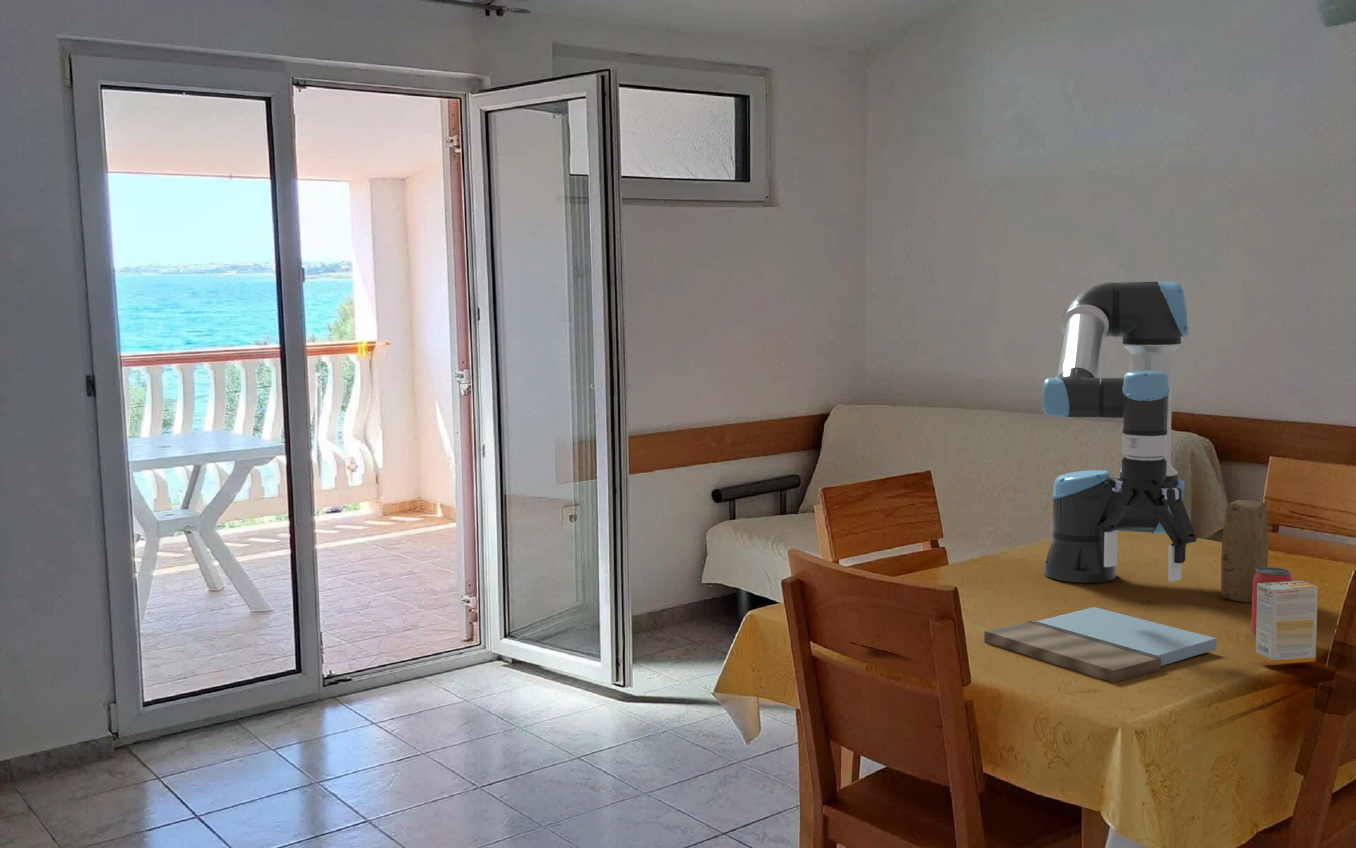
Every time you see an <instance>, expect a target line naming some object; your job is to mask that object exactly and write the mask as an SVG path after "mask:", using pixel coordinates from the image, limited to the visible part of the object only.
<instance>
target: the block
mask: <svg viewBox="0 0 1356 848" xmlns="http://www.w3.org/2000/svg"><path fill="white" fill-rule="evenodd" d="M1224 511H1225V512H1224V522H1223V526H1222V527H1223V528H1222V538H1221V539H1222V540H1221V560H1220V561H1221V564H1220V565H1221V567H1220V570H1221V571H1220V573H1221V574H1220V584H1221V586H1220V587H1221V595H1222V597H1224V598H1225V599H1226V600H1231V601H1235V602H1241V603H1252V591H1253V578H1254V576H1255V574H1256V572H1257V571H1256V569H1258V568H1261V567H1268V565H1269V525H1268V512H1267V511H1268V510H1267V504H1266V503H1265V502H1264V501H1260V500H1243V499H1237V500H1234V501H1232V502H1230V503H1229V504H1228V505H1227V506H1226V508H1225V510H1224Z"/></svg>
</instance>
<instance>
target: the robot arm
mask: <svg viewBox="0 0 1356 848" xmlns="http://www.w3.org/2000/svg"><path fill="white" fill-rule="evenodd" d="M1061 332H1062V334H1063V342H1062V346H1061V351H1060V352H1061V353H1060V358H1059V359H1060V360H1059V365H1058V371H1057V376H1054V377H1048V378H1046V379H1045V380H1044V382H1043V387H1042V409H1043V412H1044V414H1045V415H1046V416H1048V417H1058V418H1064V419H1065V418H1099V419H1100V418H1106V419H1107V418H1110V419H1122V439H1121V441H1122V443H1121V444H1122V445H1121V447H1122V448H1121V454H1122V455H1123V456H1125V457H1123V458H1121V468H1120V470H1119V477H1115V478H1114V477H1111V474H1110V472H1109V471H1107V470H1103V469H1102V470H1100V469H1099V470H1098V469H1095V470H1094V469H1093V470H1091V469H1090V470H1079V471H1073V472H1068V473H1063V474H1060V475H1058V476H1057V477H1056V478H1055V479H1054V483H1053V494H1052V495H1051V497H1052V499H1053V502H1052V503H1053V509H1052V511H1053V513H1052V516H1053V517H1052V542H1051V544H1050V546H1049V550H1048V552H1047V555H1046V560H1045V561H1044V563H1043V574H1044V576H1046V577H1048V578H1051V579H1052V580H1053V579H1054V580H1057V581H1064V582H1068V583H1083V584H1085V583H1086V584H1093V583H1095V584H1096V583H1104V582H1111V581H1113V580H1115V579H1116V575H1117V572H1116V571H1117V569H1116V566H1118V532H1129V533H1146V534H1152V535H1155V534H1166V535H1167V536H1168V538H1169V540H1171V544H1168V550H1167V551H1168V552H1167V553H1168V555H1167V560H1168V561H1167V582H1170V583H1172V582H1177V581H1181V580H1182V564H1183V563H1185V561H1186V550H1187V549H1186V548H1187V547H1186V546H1187V545H1188V544H1191V543H1196V542H1197V539H1198V538H1197V535H1196V532H1195V530H1194V528H1193V525H1192V523H1191V520H1190V517H1189V514H1188V512H1187V510H1186V507H1185V505H1184V502H1183V500H1184V492H1185V487H1186V486H1185V484H1186V483H1185V481H1184V480H1183V479H1178V475H1179V474H1178V473H1179V472H1178V470H1176V469H1175V467H1173V466H1172V464H1171V451H1172V450H1171V445H1172V444H1171V443H1172V442H1171V441H1172V409H1173V407H1172V405H1173V404H1172V403H1173V369H1174V367H1173V366H1174V353H1175V351H1176V350H1177V349H1178V348H1180V347H1181V346H1182V338H1185V337H1188V336H1189V333H1190V332H1189V324H1188V313H1187V306H1186V298H1185V291H1184V287H1183V285H1182V284H1181V283H1179V282H1176V281H1163V280H1162V281H1161V280H1156V281H1134V282H1133V281H1129V282H1125V281H1124V282H1113V281H1112V282H1104V283H1099V284H1096V285H1094V286H1092V287H1089V288H1088V289H1086V290H1084V291H1083V292H1081V293H1080V294H1078V295H1077V296H1076V297H1074V299H1072V301H1071V302H1070V303H1069V304H1068V305H1067V307H1066V308H1065V310H1064V311H1063V315H1062V318H1061ZM1105 337H1106V338H1107V337H1114V338H1115V337H1117V338H1118V337H1119V338H1120V337H1121V338H1122V347H1124V348H1125V349H1126V351H1128V353H1129V371H1128V372H1126V373H1125V374H1124V377H1099V370H1100V364H1101V354H1102V353H1101V352H1102V348H1103V347H1102V344H1103V340H1104V339H1105Z"/></svg>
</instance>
